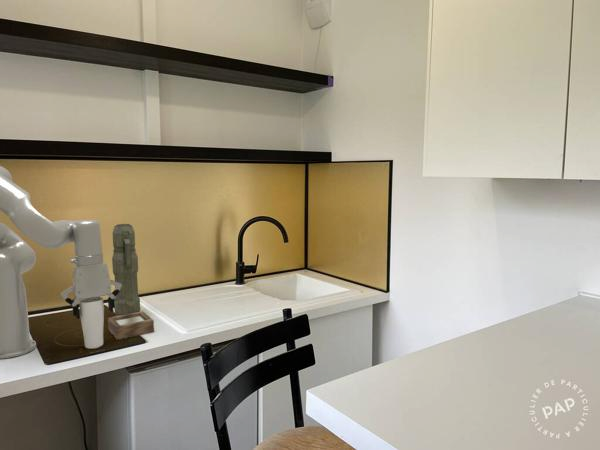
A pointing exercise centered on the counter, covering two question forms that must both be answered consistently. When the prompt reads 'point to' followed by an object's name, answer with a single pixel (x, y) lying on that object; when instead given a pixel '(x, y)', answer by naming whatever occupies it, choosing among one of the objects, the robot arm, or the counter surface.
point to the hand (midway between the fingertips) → (94, 314)
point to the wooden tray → (130, 325)
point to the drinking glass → (92, 321)
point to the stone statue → (125, 269)
